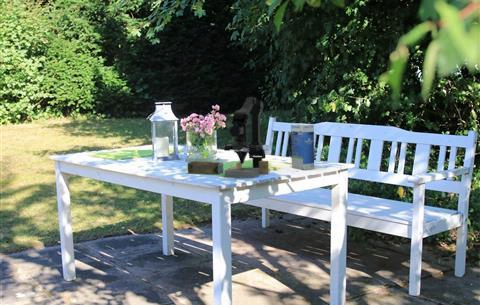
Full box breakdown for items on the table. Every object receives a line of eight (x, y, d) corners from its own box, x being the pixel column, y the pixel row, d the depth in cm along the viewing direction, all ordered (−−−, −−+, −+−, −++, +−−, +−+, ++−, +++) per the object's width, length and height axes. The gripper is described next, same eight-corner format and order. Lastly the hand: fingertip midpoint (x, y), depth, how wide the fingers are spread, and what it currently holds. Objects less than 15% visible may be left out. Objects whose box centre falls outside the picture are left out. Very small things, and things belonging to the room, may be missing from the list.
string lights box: (314, 169, 329) (314, 124, 325) (304, 170, 325) (303, 124, 322) (301, 166, 340) (300, 123, 337) (290, 167, 336) (290, 123, 333)
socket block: (233, 173, 319) (233, 166, 318) (260, 174, 313) (260, 167, 312) (224, 176, 308) (224, 169, 307) (252, 178, 302) (252, 171, 301)
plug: (261, 173, 318) (261, 160, 317) (268, 173, 316) (268, 160, 315) (259, 174, 314) (258, 161, 313) (265, 174, 312) (265, 161, 312)
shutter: (232, 168, 315) (232, 161, 315) (242, 168, 313) (242, 161, 313) (227, 169, 310) (227, 163, 309) (238, 170, 307) (238, 163, 307)
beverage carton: (218, 175, 315) (218, 163, 314) (187, 174, 322) (186, 162, 321) (224, 173, 322) (223, 161, 321) (193, 172, 329) (192, 160, 328)
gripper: (219, 136, 304) (220, 165, 305) (252, 136, 297) (252, 166, 298) (227, 134, 314) (228, 162, 316) (259, 134, 307) (260, 163, 309)
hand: (242, 163), depth 309 cm, fingers closed
